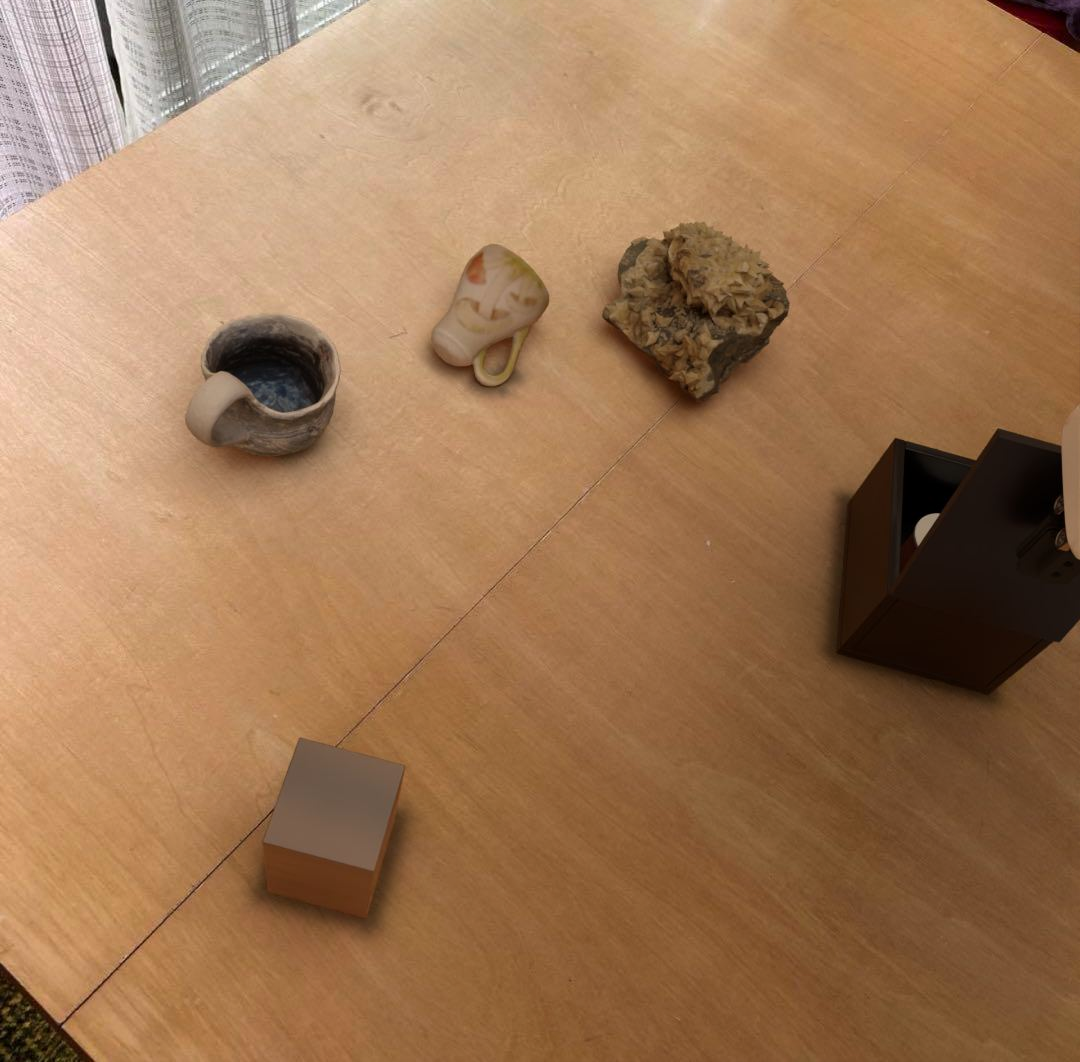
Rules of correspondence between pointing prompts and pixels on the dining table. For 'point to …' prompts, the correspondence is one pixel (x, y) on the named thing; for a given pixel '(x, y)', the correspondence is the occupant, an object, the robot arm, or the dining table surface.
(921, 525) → the disc
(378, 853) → the stand
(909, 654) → the box
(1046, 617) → the lid
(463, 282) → the mug
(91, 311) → the dining table surface
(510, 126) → the dining table surface
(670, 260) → the mineral specimen
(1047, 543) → the robot arm
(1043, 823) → the dining table surface
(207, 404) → the mug
